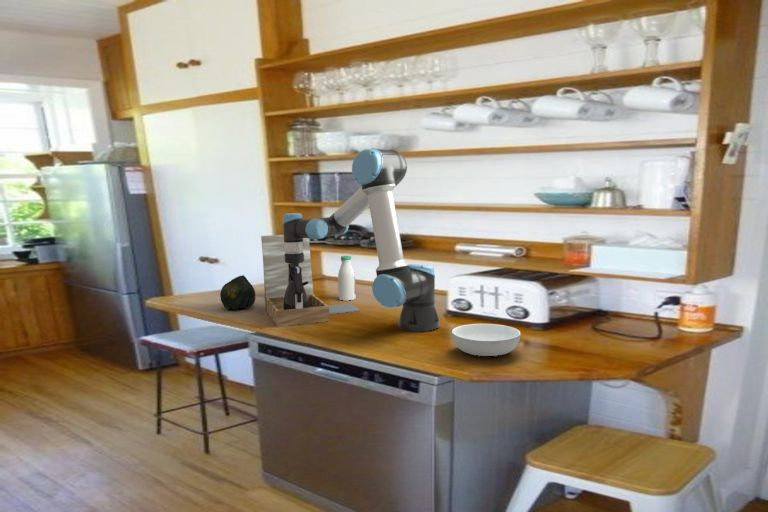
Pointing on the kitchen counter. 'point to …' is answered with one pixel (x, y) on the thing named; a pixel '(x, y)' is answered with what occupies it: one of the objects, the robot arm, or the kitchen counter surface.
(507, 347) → the serving bowl
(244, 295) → the squash
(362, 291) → the kitchen counter surface
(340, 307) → the slate mat
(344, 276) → the milk bottle
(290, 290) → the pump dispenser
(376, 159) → the robot arm
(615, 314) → the kitchen counter surface
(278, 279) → the box
